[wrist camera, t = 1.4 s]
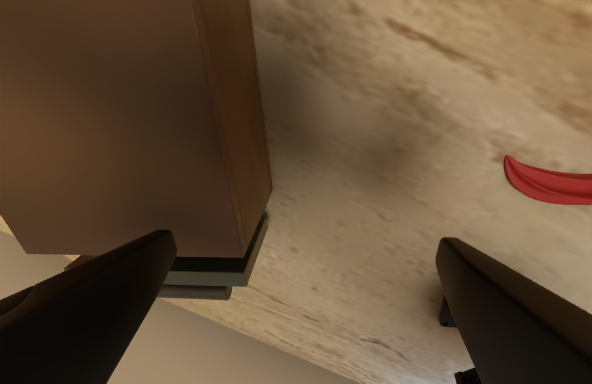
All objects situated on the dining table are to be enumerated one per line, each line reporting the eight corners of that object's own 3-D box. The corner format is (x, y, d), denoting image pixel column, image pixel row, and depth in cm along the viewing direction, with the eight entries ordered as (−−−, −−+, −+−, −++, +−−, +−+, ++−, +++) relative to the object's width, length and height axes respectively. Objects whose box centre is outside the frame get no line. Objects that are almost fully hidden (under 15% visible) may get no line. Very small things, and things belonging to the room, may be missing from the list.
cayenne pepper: (663, 204, 19) (696, 218, 17) (599, 245, 21) (623, 261, 19) (546, 116, 17) (571, 122, 16) (489, 170, 19) (505, 181, 18)
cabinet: (272, 190, 22) (243, 257, 14) (123, 192, 24) (26, 254, 16) (230, -149, 13) (102, -434, 6) (1, -105, 15) (-330, -275, 8)
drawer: (273, 265, 25) (256, 331, 18) (149, 263, 26) (96, 322, 20) (229, -46, 15) (159, -125, 8) (32, -19, 16) (-143, -68, 10)
